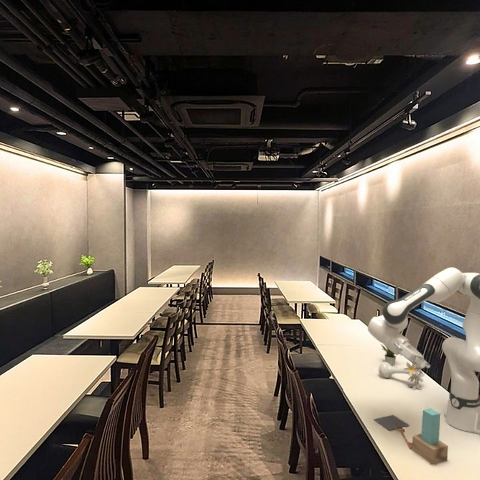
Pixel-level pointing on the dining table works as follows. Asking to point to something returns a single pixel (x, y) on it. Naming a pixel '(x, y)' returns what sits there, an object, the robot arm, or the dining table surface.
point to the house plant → (389, 356)
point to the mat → (391, 422)
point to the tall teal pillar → (430, 426)
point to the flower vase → (388, 370)
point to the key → (404, 437)
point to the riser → (429, 450)
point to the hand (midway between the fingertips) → (427, 366)
